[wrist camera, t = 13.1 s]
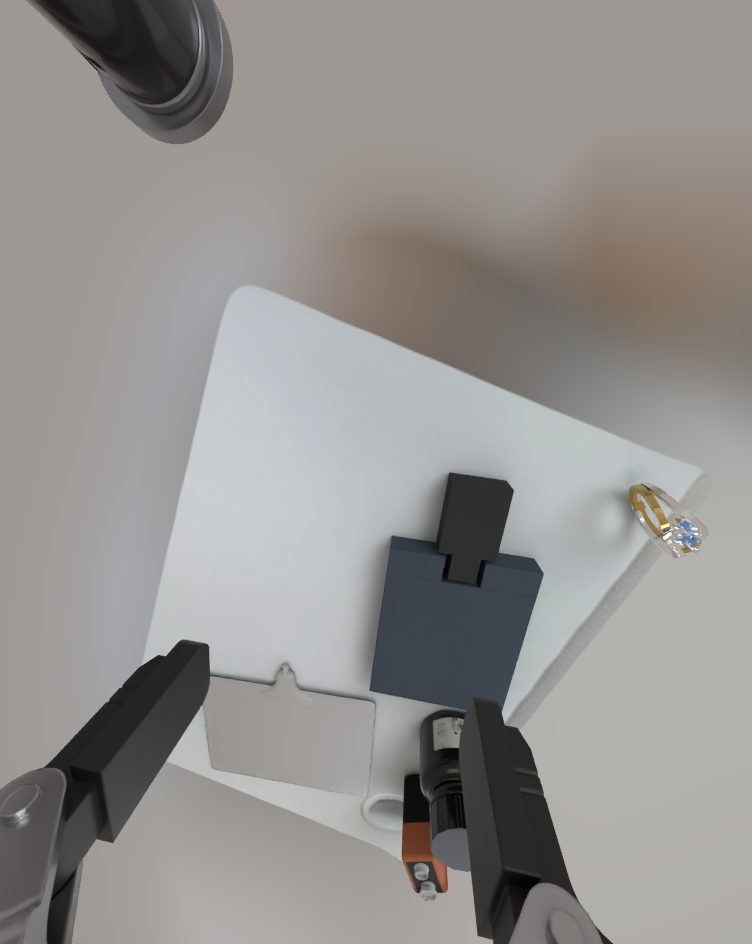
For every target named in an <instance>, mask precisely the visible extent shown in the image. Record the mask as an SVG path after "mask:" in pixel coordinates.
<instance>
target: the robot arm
mask: <svg viewBox="0 0 752 944" xmlns="http://www.w3.org/2000/svg"><path fill="white" fill-rule="evenodd" d="M26 1H27V2H28V3H30V5H32V6H33V7H34V8H35V9H36V10H37V11H38V12H39V13H40V14H41V15H42V16H43V17H44V18H46V20H47V21H49V22H50V23H51V24H52V25H53V26H54V27H55V28H56V29H57V30H58V31H59V32H60V33H61V34H62V35H63V36H64V37H65V38H67V39H68V40H69V41H70V42H71V43H72V45H73V46H74V47H75V48H76V49H77V50H78V51H79V52H80V53H81V54H82V55H83V56H84V55H85V56H86V57H87V58H88V59H89V60H90V61H91V62H92V63H93V64H94V65H95V66H96V67H97V68H98V69H99V70H100V71H101V72H103V73H104V74H105V75H106V76H107V77H108V78H109V79H110V80H111V81H112V82H113V83H114V84H115V86H116V87H117V88H118V89H119V90H120V91H121V92H122V93H123V94H124V95H125V96H126V97H127V98H128V99H130V100H131V101H132V102H133V103H134V104H135V105H137V106H138V107H140V108H142V109H144V110H146V111H148V112H151V113H156V114H167V113H171V112H175V111H177V110H179V109H181V108H182V107H184V106H185V105H186V104H187V103H188V102H189V101H190V100H191V99H192V98H193V97H194V95H195V94H196V92H197V91H198V89H199V87H200V85H201V82H202V80H203V77H204V74H205V70H206V64H207V55H208V45H207V34H206V29H205V24H204V21H203V17H202V15H201V12H200V9H199V7H198V5H197V3H196V1H195V0H26ZM85 56H84V57H85ZM86 57H85V59H86V60H87V61H88V62H89V63H90V64H91V65H92V66H93V67H94V68H95V69H96V67H95V66H94V65H93V64H92V63H91V62H90V61H89V60H88V59H87V58H86ZM96 70H97V69H96ZM97 71H98V70H97ZM98 72H99V71H98ZM99 73H100V72H99ZM100 74H101V73H100ZM101 75H102V74H101ZM102 76H103V75H102ZM103 77H104V76H103ZM209 685H210V663H209V646H208V644H205V643H200V642H195V641H190V640H181V641H179V642H178V643H177V644H176V645H175V646H174V648H173V649H172V650H171V651H170V652H169V653H168V654H167V656H161V655H158V656H156V657H155V658H153V659H151V660H150V661H148V662H147V663H145V664H144V665H142V666H141V667H139V668H138V669H137V670H136V671H135V672H134V673H133V674H132V676H131V677H130V678H129V679H128V680H127V681H126V682H125V683H124V684H123V687H122V688H119V689H118V690H117V692H116V693H115V694H114V695H113V696H112V697H111V698H110V700H109V702H106V703H105V704H104V705H103V706H102V708H101V709H100V710H99V711H98V712H97V713H96V714H95V715H94V716H93V717H92V718H91V719H90V720H89V721H88V723H87V724H86V725H85V726H84V727H83V728H82V729H81V730H80V731H79V732H78V733H77V734H76V735H75V736H74V737H73V739H72V740H71V741H70V742H69V743H68V744H67V745H66V746H65V747H64V748H63V749H62V750H61V751H60V752H59V753H58V754H57V756H56V757H55V758H54V759H53V760H52V761H51V762H50V763H49V764H48V765H46V766H45V767H44V768H41V769H37V770H33V771H31V772H28V773H26V774H24V775H22V776H20V777H18V778H16V779H15V780H13V781H12V782H10V783H8V784H7V785H6V786H4V787H3V788H2V789H0V944H71V942H72V936H73V928H74V922H75V915H76V909H77V901H78V895H79V888H80V881H81V874H82V867H83V858H84V856H85V855H86V853H87V852H88V850H89V849H90V848H91V846H92V845H93V843H94V842H95V840H96V839H99V840H103V841H107V842H111V843H113V842H114V840H115V839H116V837H117V836H118V834H119V833H120V831H121V829H122V828H123V826H124V824H125V823H126V822H127V820H128V819H129V817H130V816H131V814H132V813H133V811H134V809H135V808H136V806H137V805H138V803H139V802H140V800H141V799H142V797H143V795H144V794H145V792H146V791H147V789H148V788H149V786H150V785H151V783H152V782H153V780H154V778H155V777H156V775H157V774H158V772H159V770H160V769H161V767H162V766H163V764H164V763H165V761H166V760H167V758H168V757H169V755H170V754H171V752H172V751H173V749H174V747H175V746H176V744H177V743H178V741H179V740H180V738H181V737H182V735H183V733H184V732H185V730H186V729H187V727H188V726H189V724H190V723H191V721H192V720H193V718H194V716H195V715H196V713H197V712H198V710H199V709H200V707H201V706H202V704H203V702H204V700H205V698H206V695H207V693H208V689H209ZM459 762H460V771H461V781H462V790H463V800H464V810H465V819H466V829H467V838H468V848H469V857H470V867H471V876H472V885H473V894H474V905H475V914H476V924H477V933H478V936H480V937H484V938H488V939H492V940H493V944H613V943H612V942H610V940H608V939H607V938H606V937H605V936H604V935H603V934H602V933H601V932H600V930H599V929H598V928H597V927H596V926H595V925H594V923H593V921H592V920H591V918H590V916H589V915H588V913H587V912H586V911H585V909H584V908H583V907H582V905H581V904H580V903H579V901H578V899H577V897H576V895H575V892H574V890H573V888H572V885H571V882H570V880H569V877H568V873H567V870H566V866H565V863H564V860H563V856H562V853H561V849H560V846H559V843H558V839H557V836H556V833H555V829H554V826H553V823H552V819H551V816H550V812H549V809H548V806H547V802H546V799H545V798H544V795H543V794H544V792H543V789H542V785H541V782H540V779H539V777H538V772H537V768H536V766H535V762H534V758H533V755H532V752H531V749H530V747H529V746H528V744H527V742H526V741H525V739H524V738H523V736H522V735H521V733H520V731H519V730H518V728H515V727H510V726H505V725H504V721H503V717H502V713H501V709H500V706H499V703H498V702H496V701H491V700H486V699H481V698H476V697H470V699H469V702H468V706H467V710H466V714H465V718H464V722H463V725H462V729H461V733H460V740H459Z"/></svg>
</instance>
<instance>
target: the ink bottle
mask: <svg viewBox="0 0 752 944" xmlns="http://www.w3.org/2000/svg"><path fill="white" fill-rule="evenodd" d="M464 718H465V714H463V713H459V712H454V711H445V712H440V713H437V714H435V715H433V716H431V717H430V718H429V719H427V720H426V721H425V723H424V724H423V726H422V728H421V730H420V787H421V790H422V793H423V795H424V797H425V798H426V800H427V801H428V802H429V803H430V807H429V810H430V814H429V816H430V849H431V850H432V853H433V855H434V857H435V858H436V859H437V860H438V861H440V862H441V863H442V864H443V865H445V866H448V867H450V868H452V869H454V870H461V871H465V872H468V871H471V867H470V857H469V848H468V838H467V829H466V819H465V810H464V800H463V790H462V781H461V771H460V762H459V740H460V733H461V729H462V725H463V722H464Z"/></svg>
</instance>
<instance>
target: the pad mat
mask: <svg viewBox="0 0 752 944" xmlns="http://www.w3.org/2000/svg"><path fill="white" fill-rule="evenodd" d="M445 559H446V557H445V553H439V552H438V545H437V543H434V542H427V541H421V540H415V539H409V538H403V537H397V536H392V541H391V548H390V555H389V561H388V568H387V575H386V582H385V588H384V595H383V602H382V609H381V615H380V622H379V629H378V636H377V643H376V649H375V656H374V663H373V670H372V676H371V683H370V691H373V692H378V693H383V694H388V695H393V696H398V697H403V698H408V699H413V700H418V701H423V702H428V703H433V704H438V705H443V706H448V707H453V708H458V709H463V710H467V706H468V702H469V699H470V697H476V698H481V699H486V700H491V701H496V702H498V703H499V706H500V709H501V713H502V709H503V706H504V703H505V699H506V696H507V693H508V690H509V686H510V683H511V680H512V676H513V673H514V670H515V667H516V663H517V660H518V657H519V653H520V650H521V647H522V643H523V640H524V637H525V634H526V630H527V627H528V624H529V620H530V617H531V614H532V610H533V607H534V604H535V601H536V598H537V594H538V591H539V588H540V584H541V581H542V578H543V572H542V570H541V569H540V567H539V565H538V564H537V562H536V561H535V559H532V558H526V557H519V556H513V555H507V554H501V553H498V555H497V559H496V562H494V561H488V560H482V559H481V563H480V567H479V571H478V575H477V579H476V583H475V584H473V583H467V582H461V581H455V580H449V579H447V572H446V568H444V564H445Z"/></svg>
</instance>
